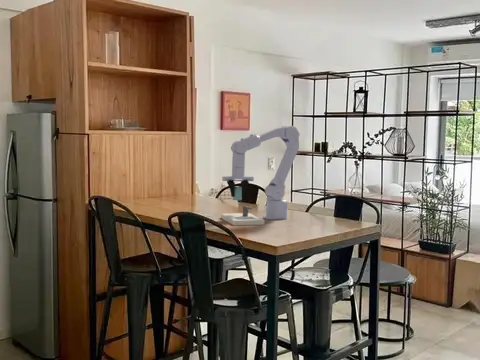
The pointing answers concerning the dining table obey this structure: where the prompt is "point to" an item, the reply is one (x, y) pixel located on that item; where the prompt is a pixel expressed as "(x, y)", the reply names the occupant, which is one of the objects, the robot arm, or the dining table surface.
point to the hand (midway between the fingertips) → (237, 196)
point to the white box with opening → (243, 218)
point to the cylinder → (237, 193)
